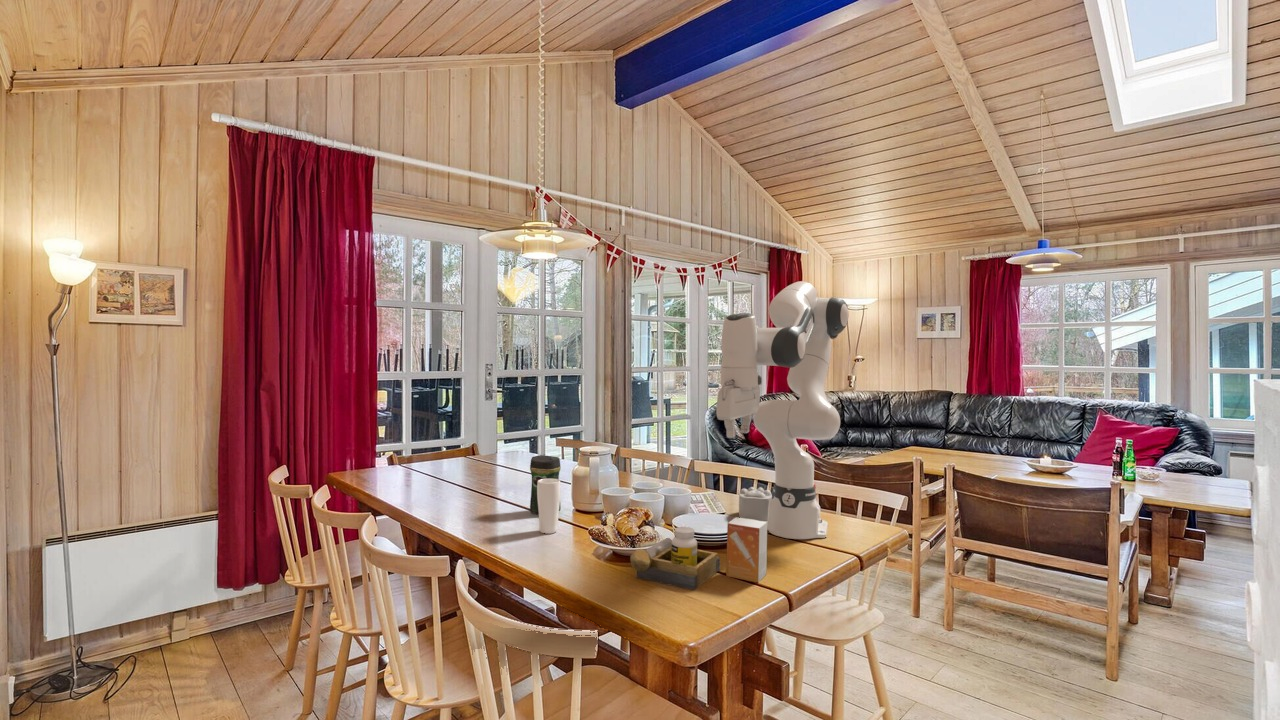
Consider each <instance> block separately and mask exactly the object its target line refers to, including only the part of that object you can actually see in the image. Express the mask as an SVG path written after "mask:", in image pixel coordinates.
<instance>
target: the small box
mask: <svg viewBox="0 0 1280 720" xmlns="http://www.w3.org/2000/svg"><path fill="white" fill-rule="evenodd" d="M726 530H727V531H726V532H727V535H726V540H727V541H726V571H725V572H726V573H725V575H726V577H727V578H735V579H738V580H744V581H747V582H752V583H756V582H759V581H760V580H761V581H762V580H763V579H764V578H765V576H767V562H768V561H767V555H768V549H767V548H768V547H767V546H768V530H767V521H758V520H753V519H745V518H739V516H735V517H734V518H733V519H731V520H730V521H729V522H727V529H726ZM761 581H760V582H761ZM760 582H759V583H760Z"/></svg>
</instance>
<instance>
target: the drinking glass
mask: <svg viewBox="0 0 1280 720" xmlns="http://www.w3.org/2000/svg"><path fill="white" fill-rule="evenodd" d="M561 489H562V488H561V480H560V479H559V480H558V479H552V478H549V479H541V480H538V482H537V499H538V512H539V514H538V523H539V524H538V525H539V528H538V529H539V532H540V533H542V534H544V533H545V534H546V535H549V534H550V535H551V534H555V533H557V532H558V530H559V515H560V513H559V512H560V511H559V505H560V506H561V491H562V490H561Z"/></svg>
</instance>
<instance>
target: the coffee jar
mask: <svg viewBox="0 0 1280 720" xmlns="http://www.w3.org/2000/svg"><path fill="white" fill-rule="evenodd" d="M561 467H562V466H561V459H560V457H558V456H552V455H542V454H541V455H539V454H538V455H535V456H532V457H531V459H530V465H529V470H530V471H529V472H530V475H531V491H530V502H529V511H530V513H532V514H536V515H539V512H538V499H537V482H538V480H541V479H549V478H552V479H558V480H560V479H559V478H560V477H559V476H560V472H561ZM560 511H561V504H560V505H559V512H560Z"/></svg>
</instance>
